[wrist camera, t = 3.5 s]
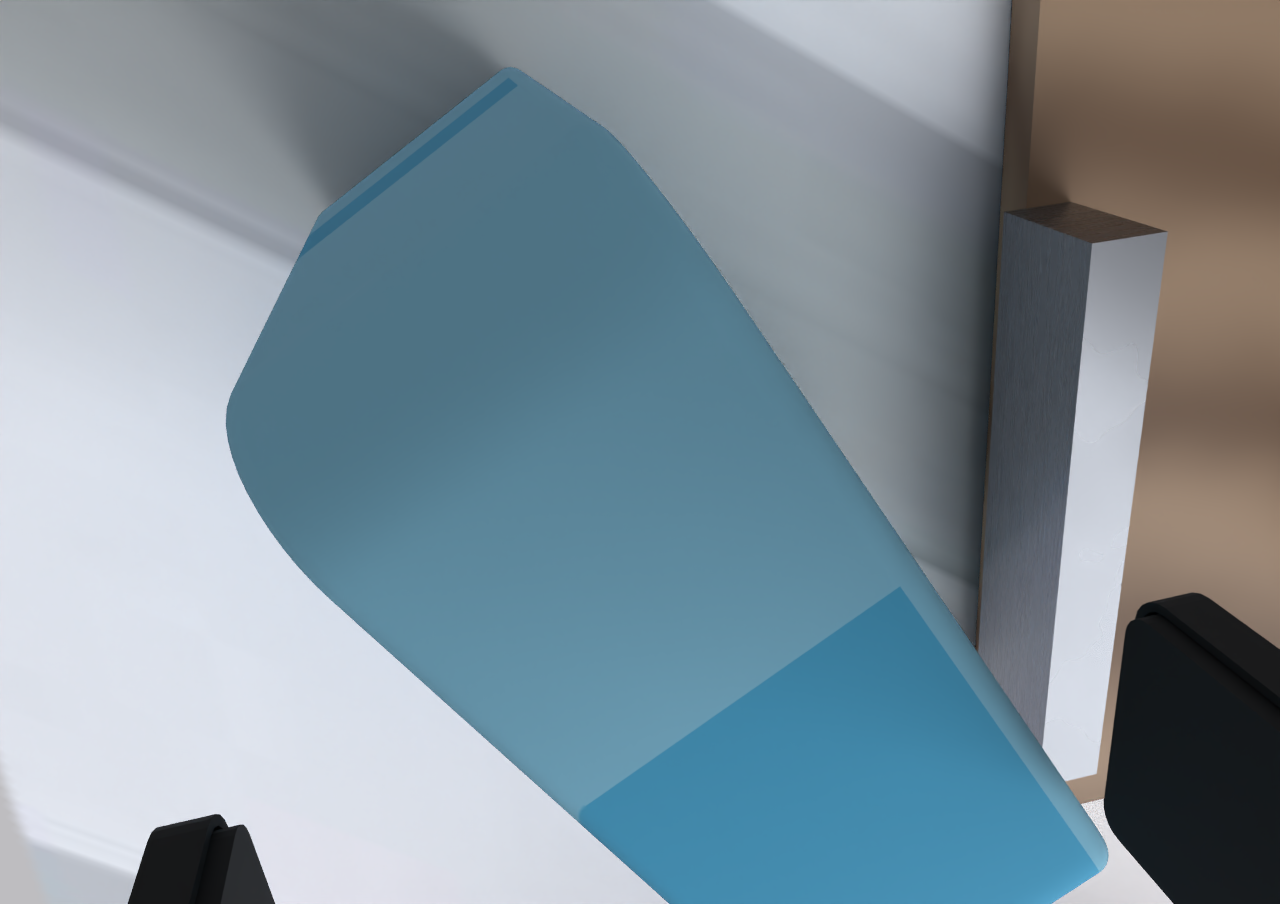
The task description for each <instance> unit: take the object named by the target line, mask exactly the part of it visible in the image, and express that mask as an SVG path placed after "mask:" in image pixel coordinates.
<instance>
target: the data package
mask: <svg viewBox="0 0 1280 904" xmlns="http://www.w3.org/2000/svg"><path fill="white" fill-rule="evenodd" d="M226 429H227V437H228V443H229V446H230V450H231V454H232V458H233V461H234V463H235V466H236V469H237V471H238V474H239V476H240V479H241V481H242V483H243V485H244V487H245V489H246V491H247V493H248V495H249V497H250V499H251V500H252V502H253V504H254V506H255V508H256V509H257V511H258V513H259V514H260V516H261V517H262V519H263V521H264V522H265V524H266V525H267V527H268V528H269V530H270V531H271V533H272V534H273V535H274V537H275V538H276V539H277V541H278V542H279V544H280V545H281V546H282V548H283V549H284V550H285V551H286V553H287V554H288V555H289V556H290V557H291V559H292V560H293V561H294V562H295V564H296V565H297V566H298V567H299V568H300V569H301V570H302V571H303V572H304V574H305V575H306V576H307V577H308V578H309V579H310V580H311V581H312V582H313V583H314V584H315V585H316V586H317V587H318V588H319V589H320V590H321V591H322V592H323V593H324V594H325V595H326V596H327V597H328V598H329V599H331V600H332V601H333V602H334V603H335V604H336V605H337V606H338V607H339V608H341V609H342V610H343V611H344V612H345V613H346V614H347V615H348V616H349V617H351V618H352V619H353V620H354V621H355V622H356V623H357V624H358V625H359V626H361V627H362V628H363V629H364V630H365V631H366V632H367V633H368V634H370V635H371V636H372V637H373V638H374V639H375V640H376V641H377V642H378V643H380V644H381V645H382V646H383V647H384V648H385V649H386V650H387V651H388V652H390V653H391V654H392V655H393V656H394V657H395V658H396V659H397V660H398V661H400V662H401V663H402V664H403V665H404V666H405V667H406V668H407V669H408V670H410V671H411V672H412V673H413V674H414V675H415V676H416V677H417V678H419V679H420V680H421V681H422V682H423V683H424V684H425V685H426V686H427V687H429V688H430V689H431V690H432V691H433V692H434V693H435V694H436V695H437V696H439V697H440V698H441V699H442V700H443V701H444V702H445V703H446V704H447V705H449V706H450V707H451V708H452V709H453V710H454V711H455V712H456V713H457V714H459V715H460V716H461V717H462V718H463V719H464V720H465V721H466V722H468V723H469V724H470V725H471V726H472V727H473V728H474V729H475V730H476V731H478V732H479V733H480V734H481V735H482V736H483V737H484V738H485V739H486V740H488V741H489V742H490V743H491V744H492V745H493V746H494V747H495V748H496V749H498V750H499V751H500V752H501V753H502V754H503V755H504V756H505V757H506V758H508V759H509V760H510V761H511V762H512V763H513V764H514V765H515V766H517V767H518V768H519V769H520V770H521V771H522V772H523V773H524V774H525V775H527V776H528V777H529V778H530V779H531V780H532V781H533V782H534V783H535V784H537V785H538V786H539V787H540V788H541V789H542V790H543V791H544V792H545V793H547V794H548V795H549V796H550V797H551V798H552V799H553V800H554V801H555V802H557V803H558V804H559V805H560V806H561V807H562V808H563V809H564V810H566V811H567V812H568V813H569V814H570V815H571V816H572V817H573V818H574V819H576V820H577V821H578V822H579V823H580V824H581V825H582V826H583V827H584V828H586V829H587V830H588V831H589V832H590V833H591V834H592V835H593V836H594V837H596V838H597V839H598V840H599V841H600V842H601V843H602V844H603V845H604V846H606V847H607V848H608V849H609V850H610V851H611V852H612V853H613V854H615V855H616V856H617V857H618V858H619V859H620V860H621V861H622V862H623V863H625V864H626V865H627V866H628V867H629V868H630V869H631V870H632V871H633V872H635V873H636V874H637V875H638V876H639V877H640V878H641V879H642V880H643V881H645V882H646V883H647V884H648V885H649V886H650V887H651V888H652V889H653V890H655V891H656V892H657V893H658V894H659V895H660V896H661V897H662V898H664V899H665V900H666V901H667V902H668V903H669V904H1052V903H1053V902H1055V901H1056V900H1058V899H1059V898H1061V897H1062V896H1064V895H1065V894H1067V893H1068V892H1070V891H1072V890H1073V889H1075V888H1076V887H1078V886H1079V885H1081V884H1082V883H1084V882H1085V881H1087V880H1088V879H1090V878H1091V877H1093V876H1095V875H1096V874H1098V873H1099V872H1101V871H1102V870H1103V869H1104V867H1105V866H1106V864H1107V861H1108V849H1107V846H1106V843H1105V841H1104V839H1103V837H1102V836H1101V834H1100V832H1099V831H1098V829H1097V828H1096V826H1095V825H1094V823H1093V822H1092V820H1091V819H1090V817H1089V816H1088V814H1087V813H1086V811H1085V810H1084V809H1083V807H1082V806H1081V804H1080V803H1079V801H1078V800H1077V798H1076V797H1075V795H1074V794H1073V792H1072V791H1071V789H1070V788H1069V786H1068V785H1067V783H1066V782H1065V780H1064V779H1063V778H1062V776H1061V775H1060V773H1059V772H1058V770H1057V769H1056V767H1055V766H1054V764H1053V763H1052V761H1051V760H1050V758H1049V757H1048V755H1047V754H1046V752H1045V751H1044V750H1043V748H1042V747H1041V745H1040V744H1039V742H1038V741H1037V739H1036V738H1035V736H1034V735H1033V733H1032V732H1031V730H1030V729H1029V727H1028V726H1027V724H1026V723H1025V721H1024V720H1023V719H1022V717H1021V716H1020V714H1019V713H1018V711H1017V710H1016V708H1015V707H1014V705H1013V704H1012V702H1011V701H1010V699H1009V698H1008V696H1007V695H1006V693H1005V692H1004V691H1003V689H1002V688H1001V686H1000V685H999V683H998V682H997V680H996V679H995V677H994V676H993V674H992V673H991V671H990V670H989V668H988V667H987V665H986V664H985V662H984V661H983V660H982V658H981V657H980V655H979V654H978V652H977V651H976V649H975V648H974V646H973V645H972V643H971V642H970V640H969V639H968V637H967V636H966V634H965V633H964V632H963V630H962V629H961V627H960V626H959V624H958V623H957V621H956V620H955V618H954V617H953V615H952V614H951V612H950V611H949V609H948V608H947V606H946V605H945V603H944V602H943V601H942V599H941V598H940V596H939V595H938V593H937V592H936V590H935V589H934V587H933V586H932V584H931V583H930V581H929V580H928V578H927V577H926V575H925V574H924V573H923V571H922V570H921V568H920V567H919V565H918V564H917V562H916V561H915V559H914V558H913V556H912V555H911V553H910V552H909V550H908V549H907V547H906V546H905V544H904V543H903V542H902V540H901V539H900V537H899V536H898V534H897V533H896V531H895V530H894V528H893V527H892V525H891V524H890V522H889V521H888V519H887V518H886V516H885V515H884V514H883V512H882V511H881V509H880V508H879V506H878V505H877V503H876V502H875V500H874V499H873V497H872V496H871V494H870V493H869V491H868V490H867V488H866V487H865V485H864V484H863V483H862V481H861V480H860V478H859V477H858V475H857V474H856V472H855V471H854V469H853V468H852V466H851V465H850V463H849V462H848V460H847V459H846V457H845V456H844V455H843V453H842V452H841V450H840V449H839V447H838V446H837V444H836V443H835V441H834V440H833V438H832V437H831V435H830V434H829V432H828V431H827V429H826V428H825V426H824V425H823V424H822V422H821V421H820V419H819V418H818V416H817V415H816V413H815V412H814V410H813V409H812V407H811V406H810V404H809V403H808V401H807V400H806V398H805V397H804V396H803V394H802V393H801V391H800V390H799V388H798V387H797V385H796V384H795V382H794V381H793V379H792V378H791V376H790V375H789V373H788V372H787V370H786V369H785V367H784V366H783V365H782V363H781V362H780V360H779V359H778V357H777V356H776V354H775V353H774V351H773V350H772V348H771V347H770V345H769V344H768V342H767V341H766V339H765V338H764V337H763V335H762V334H761V332H760V331H759V329H758V328H757V326H756V325H755V323H754V322H753V320H752V319H751V317H750V316H749V314H748V313H747V311H746V310H745V308H744V307H743V306H742V304H741V303H740V301H739V300H738V298H737V297H736V295H735V294H734V292H733V291H732V289H731V288H730V286H729V285H728V284H727V282H726V281H725V279H724V278H723V276H722V275H721V273H720V272H719V271H718V269H717V268H716V266H715V265H714V263H713V262H712V261H711V259H710V258H709V256H708V255H707V254H706V252H705V251H704V249H703V248H702V247H701V245H700V244H699V242H698V241H697V240H696V238H695V237H694V236H693V234H692V233H691V231H690V230H689V229H688V227H687V226H686V225H685V223H684V222H683V221H682V219H681V218H680V217H679V215H678V214H677V213H676V211H675V210H674V209H673V207H672V206H671V205H670V203H669V202H668V201H667V199H666V198H665V197H664V196H663V194H662V193H661V192H660V190H659V189H658V188H657V186H656V185H655V184H654V183H653V181H652V180H651V179H650V178H649V176H648V175H647V174H646V173H645V171H644V170H643V169H642V168H641V167H640V165H639V164H638V163H637V162H636V160H635V159H634V158H633V157H632V156H631V155H630V153H629V152H628V151H627V150H626V149H625V148H624V147H623V145H622V144H621V143H620V142H619V141H618V140H617V139H616V138H615V137H614V136H613V135H612V134H611V133H610V132H609V131H608V130H606V129H605V128H604V127H602V126H601V125H600V124H598V123H597V122H595V121H594V120H592V119H591V118H589V117H588V116H586V115H585V114H583V113H582V112H581V111H579V110H578V109H576V108H575V107H573V106H572V105H570V104H569V103H567V102H566V101H564V100H563V99H562V98H560V97H559V96H557V95H556V94H554V93H553V92H551V91H550V90H548V89H547V88H545V87H544V86H542V85H541V84H540V83H538V82H537V81H535V80H534V79H532V78H531V77H529V76H528V75H526V74H525V73H523V72H522V71H521V70H519V69H517V68H513V67H508V68H504V69H502V70H501V71H500V72H498V73H497V74H496V75H494V76H493V77H492V78H491V79H489V80H488V81H487V82H486V83H484V84H483V85H482V86H481V87H479V88H478V89H477V90H476V91H474V92H473V93H472V94H471V95H469V96H468V97H467V98H465V99H464V100H463V101H462V102H460V103H459V104H458V105H457V106H455V107H454V108H453V109H452V110H450V111H449V112H448V113H447V114H445V115H444V116H443V117H442V118H440V119H439V120H438V121H436V122H435V123H434V124H433V125H431V126H430V127H429V128H428V129H426V130H425V131H424V132H423V133H421V134H420V135H419V136H418V137H416V138H415V139H414V140H413V141H411V142H410V143H409V144H407V145H406V146H405V147H404V148H402V149H401V150H400V151H399V152H397V153H396V154H395V155H394V156H392V157H391V158H390V159H389V160H387V161H386V162H385V163H383V164H382V165H381V166H380V167H378V168H377V169H376V170H375V171H373V172H372V173H371V174H370V175H368V176H367V177H366V178H365V179H363V180H362V181H361V182H360V183H358V184H357V185H356V186H354V187H353V188H352V189H351V190H349V191H348V192H347V193H346V194H344V195H343V196H342V197H341V198H339V199H338V200H337V201H336V202H334V203H333V204H332V205H331V206H329V207H328V208H327V209H325V210H324V211H323V212H322V213H321V214H320V215H319V217H318V218H317V220H316V222H315V224H314V226H313V228H312V230H311V233H310V235H309V237H308V239H307V241H306V243H305V245H304V247H303V249H302V251H301V253H300V255H299V257H298V259H297V261H296V263H295V265H294V267H293V269H292V271H291V273H290V275H289V277H288V279H287V281H286V283H285V285H284V287H283V289H282V292H281V294H280V296H279V298H278V300H277V302H276V304H275V306H274V308H273V310H272V312H271V314H270V316H269V318H268V320H267V322H266V324H265V326H264V328H263V330H262V332H261V334H260V336H259V338H258V340H257V342H256V344H255V346H254V348H253V350H252V353H251V355H250V357H249V359H248V361H247V363H246V365H245V367H244V369H243V371H242V373H241V375H240V377H239V379H238V381H237V383H236V385H235V387H234V389H233V391H232V393H231V396H230V399H229V402H228V406H227V414H226Z"/></svg>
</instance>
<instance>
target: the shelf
mask: <svg viewBox="0 0 1280 904" xmlns="http://www.w3.org/2000/svg"><path fill="white" fill-rule="evenodd" d="M1065 202H1073V203H1077V204H1080V205H1083V206H1087V207H1090V208H1093V209H1096V210H1100V211H1103V212H1106V213H1109V214H1113V215H1116V216H1119V217H1122V218H1126V219H1129V220H1132V221H1135V222H1139V223H1142V224H1145V225H1148V226H1152V227H1155V228H1158V229H1162V230H1165V231H1168V235H1167V242H1166V250H1165V257H1164V265H1163V273H1162V280H1161V288H1160V295H1159V303H1158V311H1157V318H1156V326H1155V333H1154V341H1153V349H1152V356H1151V364H1150V372H1149V379H1148V387H1147V394H1146V402H1145V410H1144V417H1143V425H1142V432H1141V440H1140V448H1139V455H1138V463H1137V470H1136V478H1135V486H1134V493H1133V501H1132V508H1131V516H1130V524H1129V531H1128V539H1127V546H1126V554H1125V562H1124V569H1123V577H1122V584H1121V592H1120V600H1119V607H1118V615H1117V622H1116V630H1115V638H1114V645H1113V653H1112V660H1111V668H1110V676H1109V683H1108V691H1107V698H1106V706H1105V714H1104V721H1103V729H1102V737H1101V744H1100V752H1099V759H1098V767H1097V774H1094V775H1090V776H1086V777H1081V778H1077V779H1073V780H1069V781H1065V782H1066V783H1067V785H1068V786H1069V788H1070V789H1071V791H1072V792H1073V794H1074V795H1075V797H1076V798H1077V800H1078V801H1079V803H1080V804H1082V803H1086V802H1090V801H1094V800H1099V799H1103V798H1104V795H1105V787H1106V779H1107V771H1108V763H1109V756H1110V748H1111V740H1112V732H1113V724H1114V716H1115V709H1116V701H1117V693H1118V685H1119V677H1120V669H1121V661H1122V654H1123V646H1124V638H1125V631H1126V628H1127V625H1128V624H1129V622H1130V621H1132V620H1135V617H1136V614H1137V610H1138V609H1139V608H1140V607H1141V605H1143V604H1145V603H1148V602H1152V601H1156V600H1161V599H1165V598H1169V597H1174V596H1178V595H1183V594H1187V593H1191V592H1193V593H1201V594H1202V595H1204V596H1206V597H1208V598H1210V599H1211V600H1213V601H1214V602H1215V603H1217V604H1218V605H1219V606H1221V607H1222V608H1224V609H1225V610H1226V611H1228V612H1229V613H1231V614H1232V615H1233V616H1235V617H1236V618H1237V619H1239V620H1240V621H1242V622H1243V623H1244V624H1246V625H1247V626H1248V627H1250V628H1251V629H1253V630H1254V631H1255V632H1257V633H1258V634H1259V635H1261V636H1262V637H1264V638H1265V639H1266V640H1268V641H1269V642H1270V643H1272V644H1273V645H1275V646H1276V647H1277V648H1279V649H1280V0H1012V15H1011V33H1010V51H1009V68H1008V86H1007V103H1006V121H1005V138H1004V156H1003V173H1002V191H1001V209H1000V226H999V244H998V261H997V279H996V296H995V314H994V331H993V349H992V367H991V384H990V402H989V419H988V437H987V454H986V472H985V489H984V507H983V525H982V542H981V560H980V577H979V595H978V612H977V630H976V648H975V649H976V651H977V652H978V647H979V630H980V612H981V595H982V578H983V561H984V544H985V527H986V510H987V493H988V476H989V459H990V442H991V425H992V408H993V390H994V373H995V356H996V339H997V322H998V305H999V288H1000V271H1001V254H1002V237H1003V220H1004V212H1006V211H1013V210H1019V209H1026V208H1032V207H1039V206H1045V205H1052V204H1058V203H1065Z"/></svg>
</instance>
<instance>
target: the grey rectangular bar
mask: <svg viewBox="0 0 1280 904" xmlns="http://www.w3.org/2000/svg"><path fill="white" fill-rule="evenodd" d="M1167 235H1168V231H1165V230H1162V229H1158V228H1155V227H1152V226H1148V225H1145V224H1142V223H1139V222H1135V221H1132V220H1129V219H1126V218H1122V217H1119V216H1116V215H1113V214H1109V213H1106V212H1103V211H1100V210H1096V209H1093V208H1090V207H1087V206H1083V205H1080V204H1077V203H1073V202H1065V203H1058V204H1052V205H1045V206H1039V207H1032V208H1026V209H1019V210H1013V211H1006V212H1004V220H1003V237H1002V254H1001V271H1000V288H999V305H998V322H997V339H996V356H995V373H994V390H993V408H992V425H991V442H990V459H989V476H988V493H987V510H986V527H985V544H984V561H983V578H982V595H981V612H980V630H979V647H978V654H979V655H980V657H981V658H982V660H983V661H984V662H985V664H986V665H987V667H988V668H989V670H990V671H991V673H992V674H993V676H994V677H995V679H996V680H997V682H998V683H999V685H1000V686H1001V688H1002V689H1003V691H1004V692H1005V693H1006V695H1007V696H1008V698H1009V699H1010V701H1011V702H1012V704H1013V705H1014V707H1015V708H1016V710H1017V711H1018V713H1019V714H1020V716H1021V717H1022V719H1023V720H1024V721H1025V723H1026V724H1027V726H1028V727H1029V729H1030V730H1031V732H1032V733H1033V735H1034V736H1035V738H1036V739H1037V741H1038V742H1039V744H1040V745H1041V747H1042V748H1043V750H1044V751H1045V752H1046V754H1047V755H1048V757H1049V758H1050V760H1051V761H1052V763H1053V764H1054V766H1055V767H1056V769H1057V770H1058V772H1059V773H1060V775H1061V776H1062V778H1063V779H1064V780H1065V781H1069V780H1073V779H1077V778H1081V777H1086V776H1090V775H1094V774H1097V767H1098V759H1099V752H1100V744H1101V737H1102V729H1103V721H1104V714H1105V706H1106V698H1107V691H1108V683H1109V676H1110V668H1111V660H1112V653H1113V645H1114V638H1115V630H1116V622H1117V615H1118V607H1119V600H1120V592H1121V584H1122V577H1123V569H1124V562H1125V554H1126V546H1127V539H1128V531H1129V524H1130V516H1131V508H1132V501H1133V493H1134V486H1135V478H1136V470H1137V463H1138V455H1139V448H1140V440H1141V432H1142V425H1143V417H1144V410H1145V402H1146V394H1147V387H1148V379H1149V372H1150V364H1151V356H1152V349H1153V341H1154V333H1155V326H1156V318H1157V311H1158V303H1159V295H1160V288H1161V280H1162V273H1163V265H1164V257H1165V250H1166V242H1167Z"/></svg>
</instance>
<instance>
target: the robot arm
mask: <svg viewBox="0 0 1280 904" xmlns="http://www.w3.org/2000/svg"><path fill="white" fill-rule="evenodd" d="M1104 811H1105V816H1106V818H1107V821H1108V824H1109V826H1110V828H1111V830H1112V831H1113V833H1114V834H1115V836H1116V837H1117V839H1118V840H1119V841H1120V842H1121V843H1122V844H1123V846H1124V847H1125V848H1126V849H1127V850H1128V851H1129V853H1130V854H1131V855H1132V856H1133V857H1134V858H1135V860H1136V861H1137V862H1138V863H1139V864H1140V865H1141V866H1142V868H1143V869H1144V870H1145V871H1146V872H1147V873H1148V875H1149V876H1150V877H1151V878H1152V879H1153V880H1154V882H1155V883H1156V884H1157V885H1158V886H1159V887H1160V888H1161V890H1162V891H1163V892H1164V893H1165V894H1166V895H1167V897H1168V898H1169V899H1170V900H1171V901H1172V902H1173V904H1280V649H1279V648H1277V647H1276V646H1275V645H1273V644H1272V643H1270V642H1269V641H1268V640H1266V639H1265V638H1264V637H1262V636H1261V635H1259V634H1258V633H1257V632H1255V631H1254V630H1253V629H1251V628H1250V627H1248V626H1247V625H1246V624H1244V623H1243V622H1242V621H1240V620H1239V619H1237V618H1236V617H1235V616H1233V615H1232V614H1231V613H1229V612H1228V611H1226V610H1225V609H1224V608H1222V607H1221V606H1219V605H1218V604H1217V603H1215V602H1214V601H1213V600H1211V599H1210V598H1208V597H1206V596H1204V595H1202V594H1201V593H1193V592H1191V593H1187V594H1183V595H1178V596H1174V597H1169V598H1165V599H1161V600H1156V601H1152V602H1148V603H1145V604H1143V605H1141V607H1140V608H1139V609H1138V610H1137V614H1136V617H1135V620H1132V621H1130V622H1129V624H1128V625H1127V628H1126V631H1125V638H1124V646H1123V654H1122V661H1121V669H1120V677H1119V685H1118V693H1117V701H1116V709H1115V716H1114V724H1113V732H1112V740H1111V748H1110V756H1109V763H1108V771H1107V779H1106V787H1105V795H1104ZM128 904H275V902H274V899H273V897H272V894H271V891H270V889H269V886H268V883H267V880H266V878H265V875H264V872H263V870H262V867H261V864H260V861H259V859H258V856H257V853H256V850H255V848H254V845H253V842H252V840H251V837H250V834H249V832H248V830H247V828H246V827H245V826H244V825H237V826H233V827H228V826H227V824H226V822H225V820H224V818H223V817H222V816H221V815H219V814H215V815H210V816H206V817H201V818H197V819H193V820H188V821H184V822H179V823H175V824H171V825H166V826H162V827H157V828H156V829H155V830H154V831H153V832H152V833H151V835H150V837H149V839H148V842H147V845H146V848H145V851H144V854H143V857H142V860H141V864H140V867H139V870H138V873H137V876H136V879H135V882H134V886H133V889H132V892H131V895H130V898H129V901H128Z"/></svg>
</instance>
